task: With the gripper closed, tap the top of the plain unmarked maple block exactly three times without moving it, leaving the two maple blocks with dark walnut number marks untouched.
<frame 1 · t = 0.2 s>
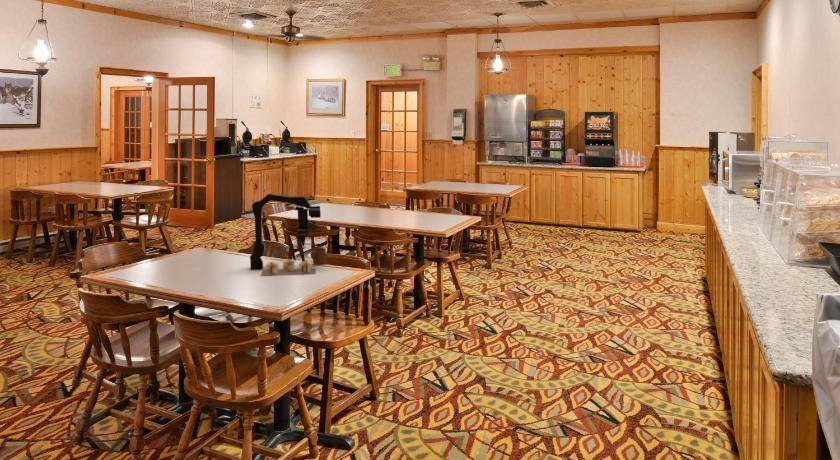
hand: (303, 244, 355), 14 cm above the table, tool pointing down, fingers open, 9 cm apart
marked block left: (272, 273, 339), point 1 cm above the table, touching mat
marked block right: (304, 272, 342), point 1 cm above the table, touching mat
mug: (317, 265, 365), on the table
mat: (288, 273, 344), on the table
plain block: (289, 270, 347), point 1 cm above the table, touching mat
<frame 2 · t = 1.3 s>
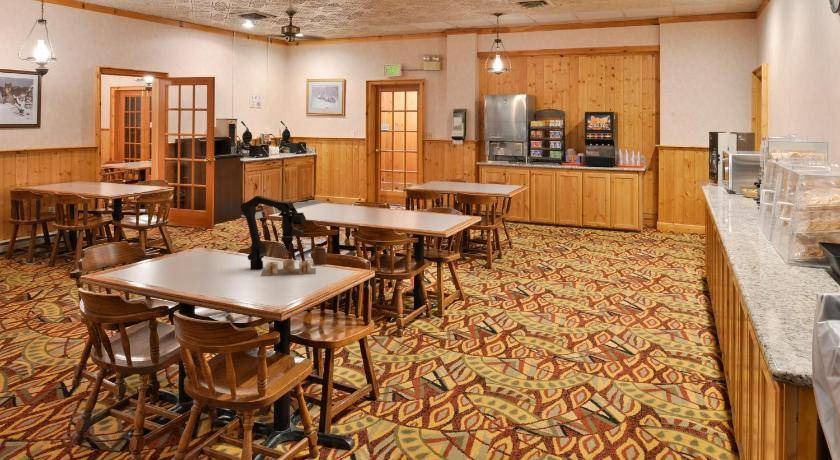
hand: (288, 251, 345), 12 cm above the table, tool pointing down, fingers closed
nothing on the table moved.
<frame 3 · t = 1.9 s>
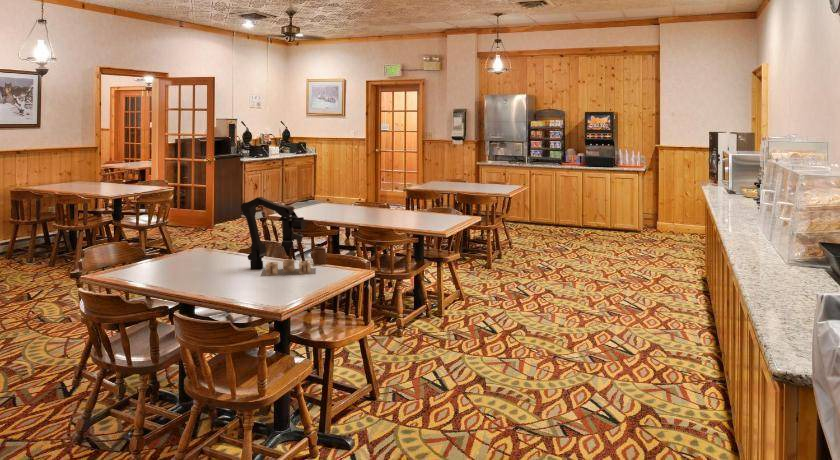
hand: (288, 255, 345), 9 cm above the table, tool pointing down, fingers closed
nothing on the table moved.
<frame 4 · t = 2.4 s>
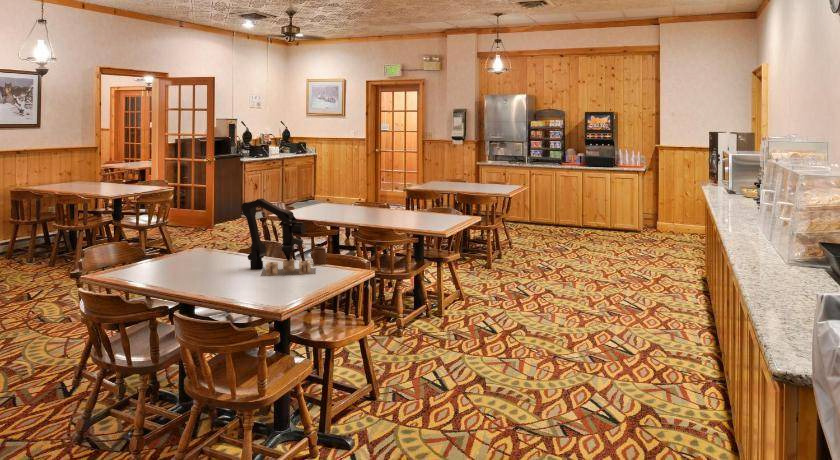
hand: (288, 260, 346), 7 cm above the table, tool pointing down, fingers closed, pressing on plain block
plain block: (289, 270, 347), point 1 cm above the table, touching gripper, mat
everything else where it was.
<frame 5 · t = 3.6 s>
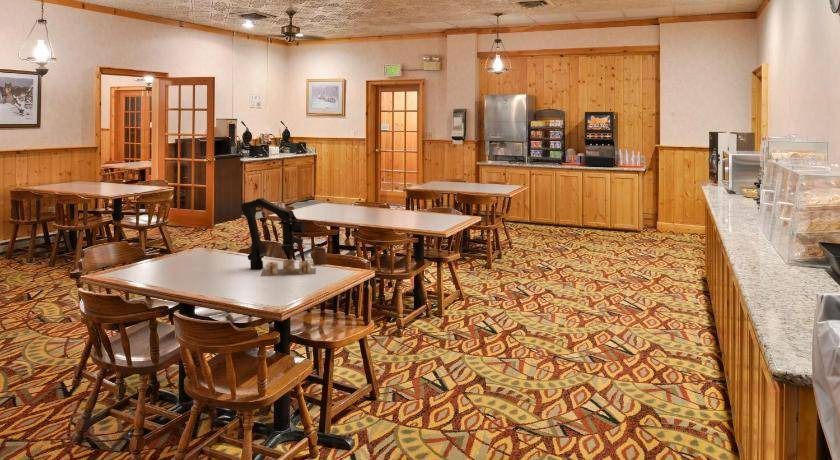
hand: (288, 259, 346), 7 cm above the table, tool pointing down, fingers closed
plain block: (289, 270, 347), point 1 cm above the table, touching mat
everything else where it was.
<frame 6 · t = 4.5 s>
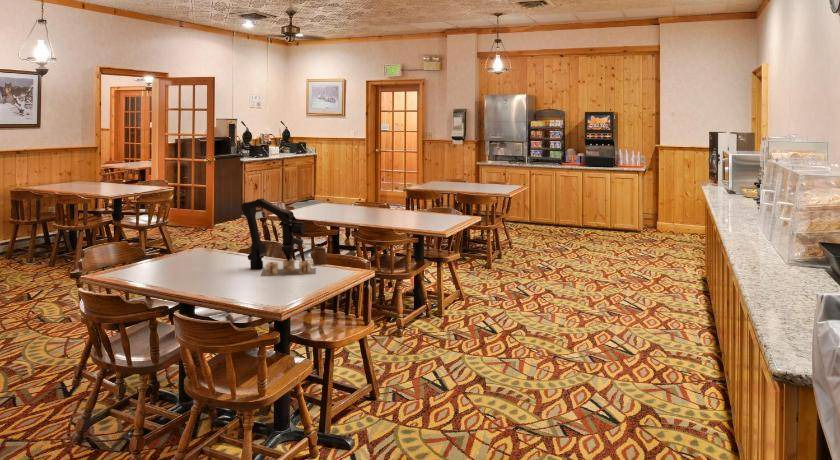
hand: (288, 260, 346), 7 cm above the table, tool pointing down, fingers closed
nothing on the table moved.
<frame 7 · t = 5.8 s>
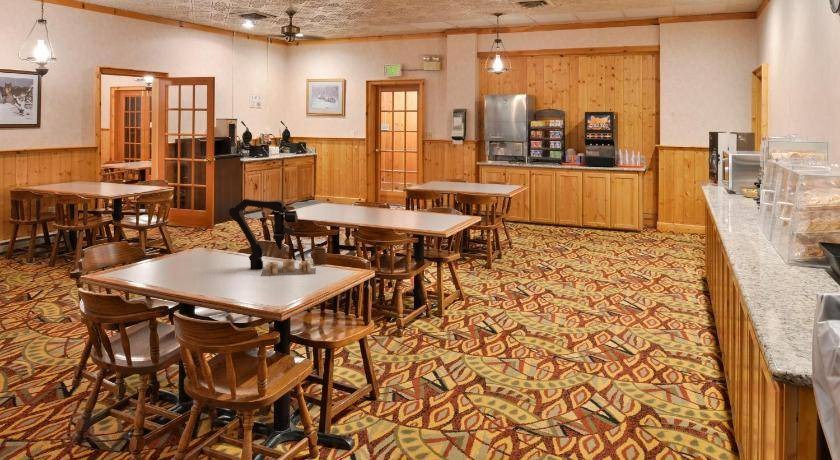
hand: (280, 249, 351), 12 cm above the table, tool pointing down, fingers closed
nothing on the table moved.
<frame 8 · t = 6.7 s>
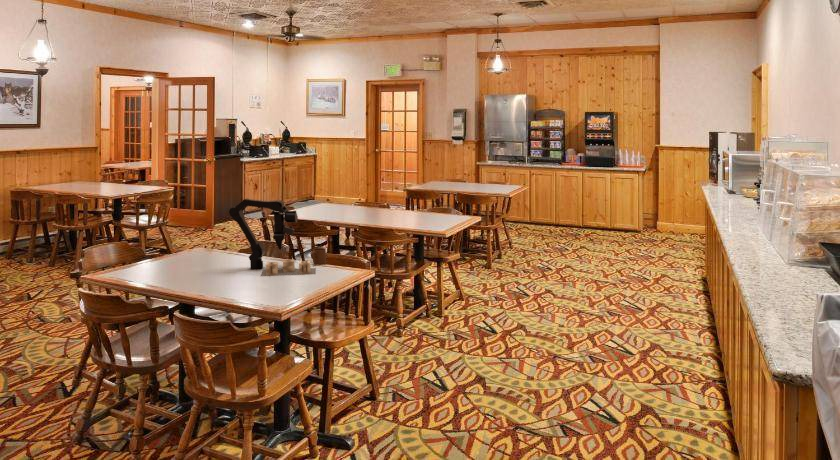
hand: (280, 249, 351), 12 cm above the table, tool pointing down, fingers closed
nothing on the table moved.
at the end: plain block moved 0.0 cm from its start; plain block tilted 0°; marked block right moved 0.0 cm from its start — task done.
